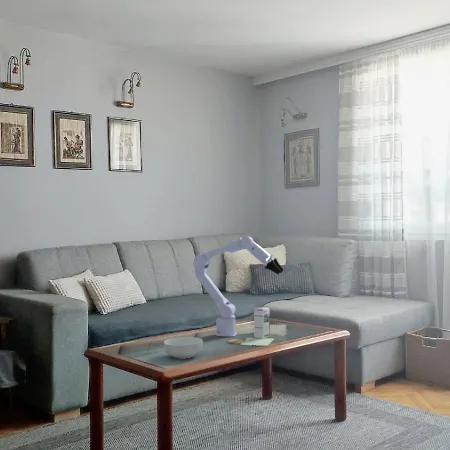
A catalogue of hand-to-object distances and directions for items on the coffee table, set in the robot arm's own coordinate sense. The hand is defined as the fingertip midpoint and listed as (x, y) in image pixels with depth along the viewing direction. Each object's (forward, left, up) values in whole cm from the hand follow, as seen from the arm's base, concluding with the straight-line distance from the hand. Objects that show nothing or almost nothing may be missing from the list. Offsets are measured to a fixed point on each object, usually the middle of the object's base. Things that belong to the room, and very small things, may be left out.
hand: (281, 272), depth 288 cm
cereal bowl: (-35, -49, -32) cm, 68 cm away
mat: (-10, -15, -32) cm, 36 cm away
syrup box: (-10, -4, -32) cm, 34 cm away
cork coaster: (-20, -16, -32) cm, 41 cm away
